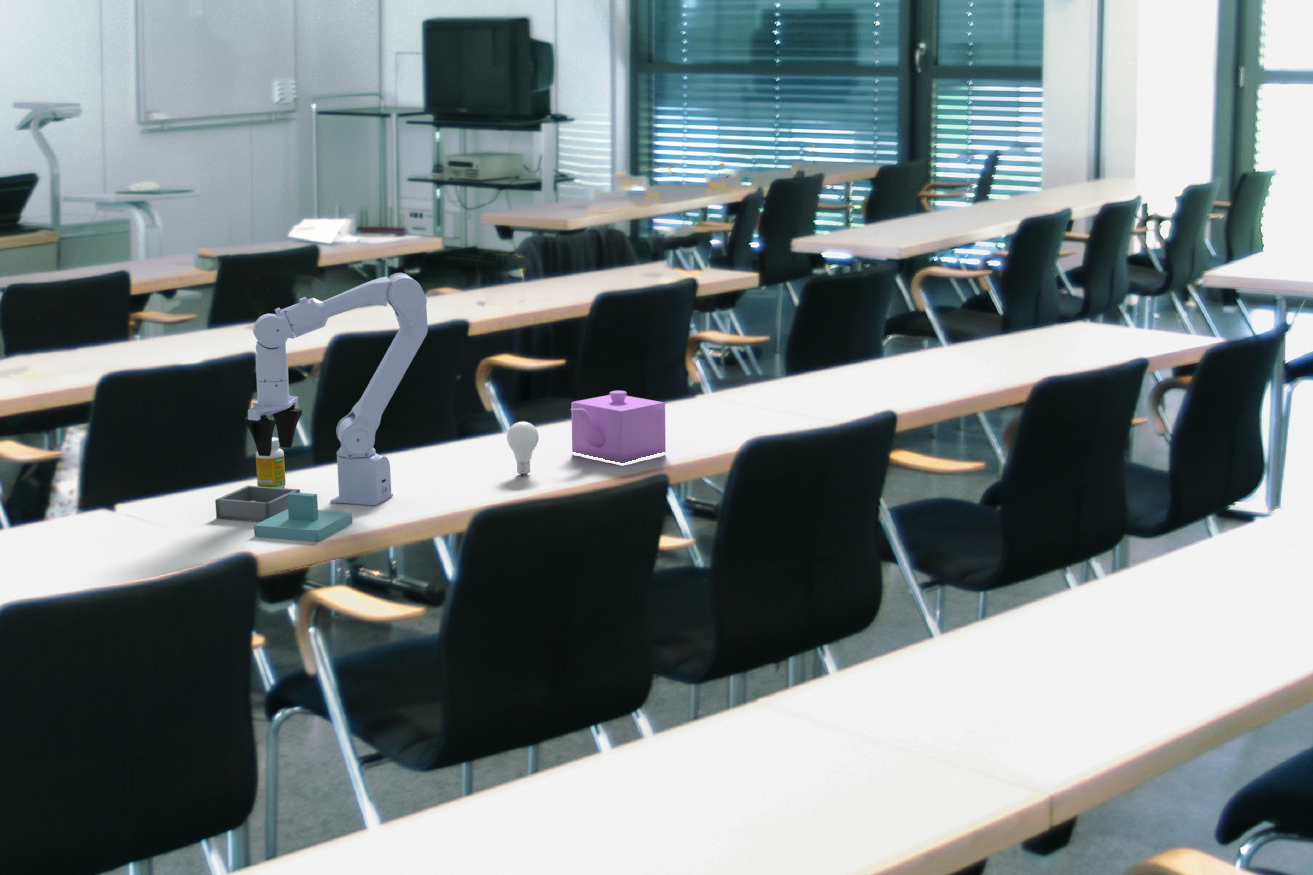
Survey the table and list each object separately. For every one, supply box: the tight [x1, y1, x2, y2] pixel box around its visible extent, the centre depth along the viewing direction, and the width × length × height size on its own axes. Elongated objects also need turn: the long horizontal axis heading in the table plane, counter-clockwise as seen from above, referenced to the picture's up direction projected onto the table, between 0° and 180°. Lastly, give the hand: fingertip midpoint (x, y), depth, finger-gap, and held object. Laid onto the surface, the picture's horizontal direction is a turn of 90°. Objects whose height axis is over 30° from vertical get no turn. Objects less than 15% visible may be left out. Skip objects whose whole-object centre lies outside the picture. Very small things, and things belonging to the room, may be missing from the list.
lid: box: [253, 492, 353, 542], centre depth 276 cm, size 12×12×6 cm
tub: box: [215, 485, 301, 523], centre depth 288 cm, size 11×11×4 cm
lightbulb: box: [506, 421, 539, 476], centre depth 315 cm, size 6×6×11 cm
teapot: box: [570, 390, 666, 463], centre depth 331 cm, size 15×25×14 cm, turn 136°
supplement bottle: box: [255, 436, 286, 488], centre depth 306 cm, size 5×5×10 cm
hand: (275, 451), depth 291 cm, fingers open, 7 cm apart
